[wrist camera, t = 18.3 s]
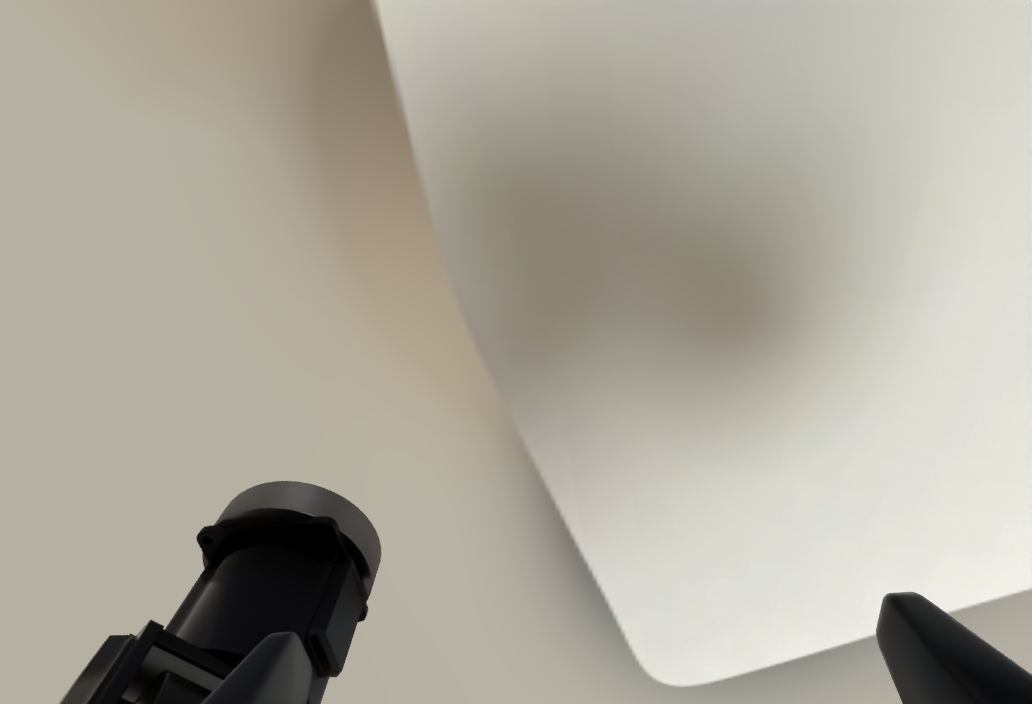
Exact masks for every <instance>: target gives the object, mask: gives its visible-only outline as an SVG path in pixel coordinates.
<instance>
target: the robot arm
mask: <svg viewBox="0 0 1032 704" xmlns="http://www.w3.org/2000/svg"><path fill="white" fill-rule="evenodd" d="M324 527H326V528H328V529H326V528H324ZM197 542H198V544H199V546H200V548H201V550H202V552H203V554H204V556H205V558H206V559H207V561H208V565H207V566H206V568H205V569H204V571H203V572H202V574H201V575H200V577H199V578H198V580H197V581H196V583H195V584H194V586H193V587H192V589H191V591H190V592H189V593H188V595H187V597H186V598H185V600H184V601H183V603H182V604H181V606H180V607H179V609H178V610H177V612H176V613H175V615H174V616H173V618H172V619H171V621H170V623H169V624H168V625H167V627H166V629H165V630H164V629H163V627H164V626H163V625H161V624H158V623H157V622H155V621H153V620H150V621H149V622H148V623H147V624H146V625H145V626H144V627H143V629H142V630H141V631H140V632H139V633H138V634H137V635H136V636H134V635H132V634H130V635H115V636H114V635H112V636H109V637H108V639H107V640H106V641H105V642H104V643H103V644H102V646H101V647H100V648H99V650H98V651H97V652H96V654H95V655H94V656H93V658H92V659H91V660H90V662H89V663H88V664H87V666H86V667H85V668H84V670H83V671H82V672H81V674H80V675H79V676H78V678H77V679H76V680H75V682H74V683H73V685H72V686H71V687H70V689H69V690H68V691H67V693H66V694H65V696H64V697H63V698H62V700H61V701H60V703H59V704H320V703H321V700H322V698H323V695H324V692H325V689H326V685H327V682H328V680H329V677H337V676H338V675H339V674H340V672H341V671H342V669H343V666H344V663H345V660H346V657H347V654H348V650H349V647H350V644H351V641H352V638H353V634H354V632H355V628H356V625H357V622H361V621H364V620H365V618H366V616H367V613H368V606H367V603H366V600H365V597H366V593H365V590H364V588H363V585H362V582H361V579H360V576H359V574H358V571H357V568H356V565H355V563H354V560H353V558H352V557H351V556H350V555H349V554H348V551H347V548H346V545H345V543H344V540H343V537H342V534H341V532H340V529H339V526H338V523H337V522H336V520H334V519H333V518H331V517H329V516H318V517H307V518H295V519H283V520H271V521H259V522H247V523H235V524H223V525H212V526H205V527H203V528H202V529H201V531H200V532H199V533H198V535H197ZM876 636H877V642H878V645H879V648H880V650H881V653H882V655H883V657H884V660H885V662H886V665H887V667H888V669H889V672H890V674H891V676H892V679H893V681H894V684H895V686H896V688H897V691H898V693H899V696H900V698H901V700H902V703H903V704H1032V675H1031V674H1030V673H1029V672H1027V671H1026V670H1024V669H1023V668H1022V667H1020V666H1019V665H1018V664H1016V663H1015V662H1013V661H1012V660H1011V659H1009V658H1008V657H1007V656H1005V655H1004V654H1002V653H1001V652H1000V651H998V650H997V649H995V648H994V647H993V646H991V645H990V644H988V643H987V642H986V641H984V640H983V639H982V638H980V637H979V636H977V635H976V634H975V633H973V632H972V631H970V630H969V629H968V628H966V627H965V626H963V625H962V624H961V623H959V622H958V621H957V620H955V619H954V618H952V617H951V616H950V615H948V614H947V613H945V612H944V611H943V610H941V609H940V608H938V607H937V606H936V605H934V604H933V603H932V602H930V601H929V600H927V599H926V598H925V597H923V596H921V595H919V594H917V593H914V592H901V593H889V594H887V595H886V596H885V597H884V598H883V601H882V605H881V610H880V615H879V619H878V624H877V628H876Z"/></svg>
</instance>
